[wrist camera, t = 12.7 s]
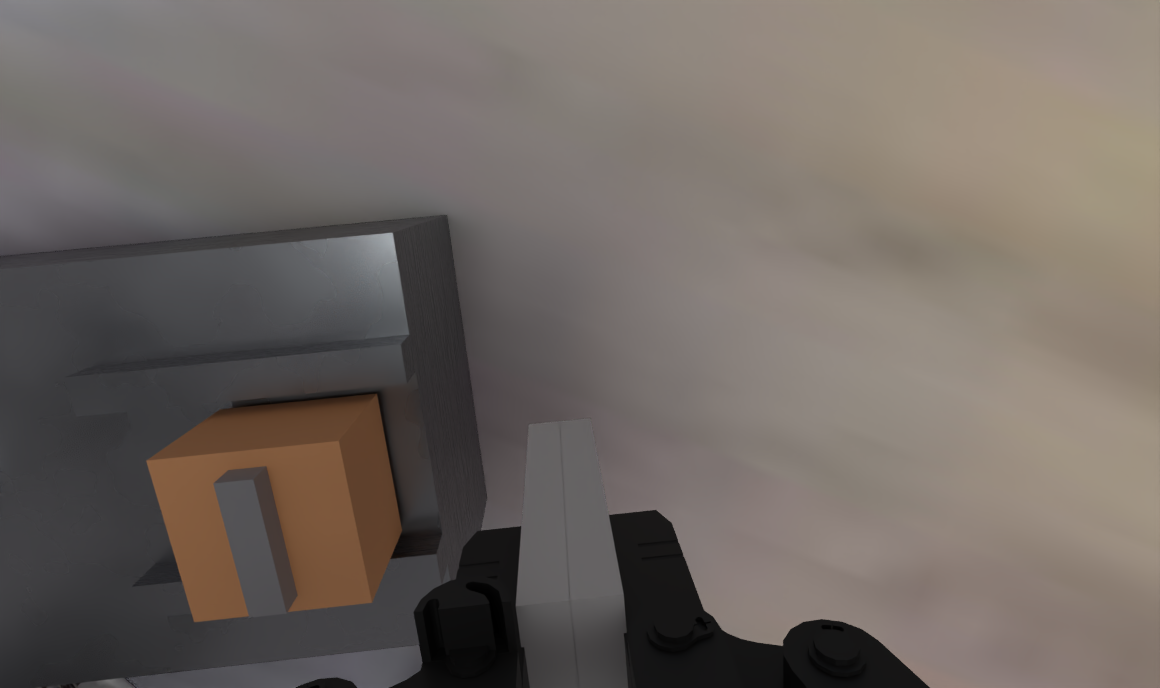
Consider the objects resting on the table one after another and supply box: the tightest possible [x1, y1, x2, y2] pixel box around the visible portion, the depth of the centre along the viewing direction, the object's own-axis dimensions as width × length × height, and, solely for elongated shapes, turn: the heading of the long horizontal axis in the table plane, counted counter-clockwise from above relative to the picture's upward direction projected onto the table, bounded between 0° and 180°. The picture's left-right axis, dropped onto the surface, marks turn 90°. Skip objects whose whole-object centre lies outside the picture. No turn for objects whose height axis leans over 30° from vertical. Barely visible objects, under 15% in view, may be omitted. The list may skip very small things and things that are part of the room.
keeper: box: [146, 394, 402, 622], centre depth 15 cm, size 4×4×4 cm
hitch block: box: [0, 215, 487, 688], centre depth 20 cm, size 22×12×10 cm, turn 95°
